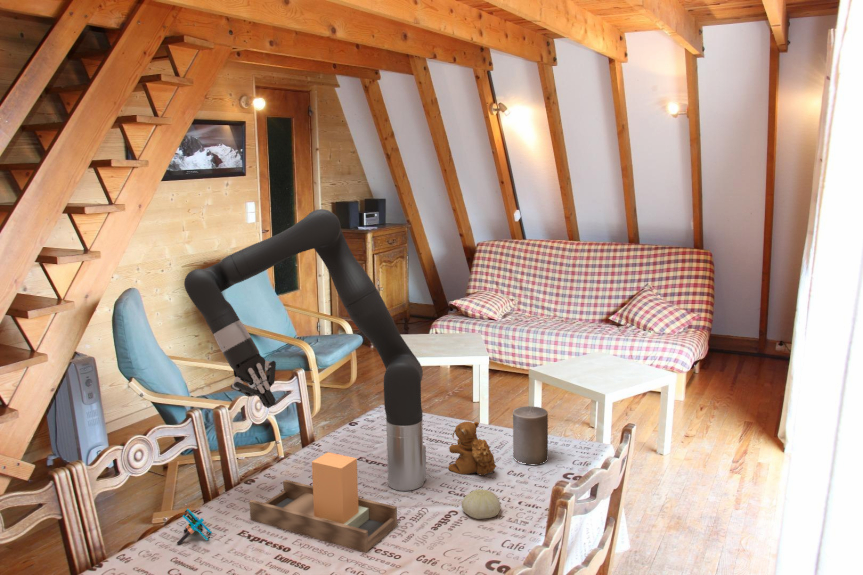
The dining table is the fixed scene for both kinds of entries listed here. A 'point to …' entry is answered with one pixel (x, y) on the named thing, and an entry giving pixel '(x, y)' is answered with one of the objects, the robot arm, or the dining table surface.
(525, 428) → the pillar candle
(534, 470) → the dining table surface
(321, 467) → the orange block
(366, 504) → the open wooden box
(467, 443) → the stuffed squirrel
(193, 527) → the stick construction toy
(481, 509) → the sea urchin shell
